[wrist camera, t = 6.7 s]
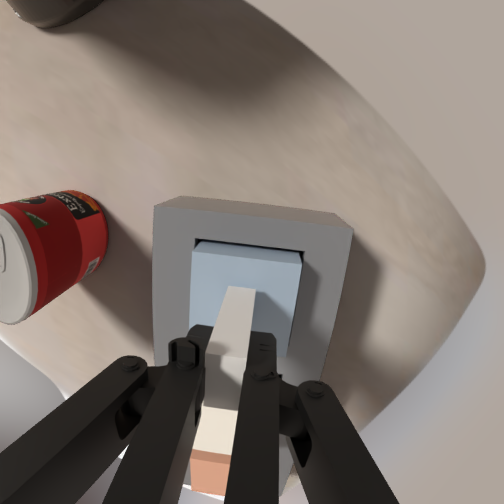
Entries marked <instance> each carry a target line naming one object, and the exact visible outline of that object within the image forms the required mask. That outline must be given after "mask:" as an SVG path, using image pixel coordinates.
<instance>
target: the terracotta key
mask: <svg viewBox="0 0 504 504" xmlns="http://www.w3.org/2000/svg"><path fill="white" fill-rule="evenodd" d="M230 460H231V455H227V454H220V453H213V452H207V451H201V450H196V449H192V453H191V456H190V470H191V489H192V491H197V492H202V493H208V494H215V495H221V496H225V493H226V486H227V480H228V473H229V467H230Z"/></svg>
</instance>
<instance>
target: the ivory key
mask: <svg viewBox="0 0 504 504" xmlns="http://www.w3.org/2000/svg"><path fill="white" fill-rule="evenodd" d="M237 414H238V411H233V410H226V409H219V408H212V407H206V406H203V403H202V408H201V418H200V422H199V426H198V429H197V433H196V437H195V440H194V444H193V448H192V449H196V450H201V451H207V452H213V453H220V454H227V455H231V454H232V447H233V441H234V434H235V427H236V421H237Z"/></svg>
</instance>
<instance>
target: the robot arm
mask: <svg viewBox="0 0 504 504" xmlns="http://www.w3.org/2000/svg"><path fill="white" fill-rule="evenodd" d="M6 1H7V2H8V3H9V4H10V6H11V7H12V8H13V10H14V11H15V13H16V14H17V16H18V17H19V18H20V19H22V20H23V21H25V22H27V23H30V24H32V25H34V26H37V27H41V28H51V27H56V26H60V25H63V24H65V23H68V22H70V21H72V20H74V19H76V18H78V17H80V16H82V15H83V14H85V13H87V12H88V11H90V10H91V9H93V8H94V7H96V6H97V5H98V4H99V3H101V2H102V1H103V0H6ZM255 293H256V289H251V288H243V287H235V286H228V288H227V291H226V294H225V297H224V300H223V302H222V305H221V308H220V311H219V314H218V317H217V320H216V323H215V326H207V325H200V324H196V325H195V326H193V327H192V328H190V330H189V332H188V334H187V336H186V337H181V338H176V339H173V340H171V341H170V342H169V343H168V357H169V362H168V364H167V365H164V366H150V367H147V363H146V361H145V360H144V359H142V358H141V357H137V356H123V357H121V358H119V359H117V360H116V361H114V362H113V363H112V364H111V365H109V366H108V367H107V368H106V369H104V370H103V371H102V372H101V373H99V374H98V375H97V376H96V377H94V378H93V379H92V380H91V381H89V382H88V383H87V384H86V385H84V386H83V387H82V388H81V389H79V390H78V391H77V392H76V393H74V394H73V395H72V396H71V397H69V398H68V399H67V400H66V401H65V402H63V403H62V404H61V405H60V406H58V407H57V408H56V409H55V410H53V411H52V412H51V413H50V414H48V415H47V416H46V417H45V418H43V419H42V420H41V421H40V422H38V423H37V424H36V425H35V426H33V427H32V428H31V429H30V430H28V431H27V432H26V433H25V434H23V435H22V436H21V437H20V438H19V439H17V440H16V441H15V442H13V443H12V444H11V445H10V446H9V447H7V448H6V449H5V450H4V451H2V452H1V453H0V504H75V503H76V502H77V501H78V500H79V499H80V498H81V497H82V496H83V495H84V493H85V492H86V491H87V490H88V489H89V488H90V487H91V486H92V485H93V484H94V483H95V481H96V480H97V479H98V478H99V477H100V476H101V475H102V474H103V473H104V471H105V470H106V469H107V468H108V467H109V466H110V465H111V464H112V463H113V461H114V460H115V459H116V458H117V457H118V456H119V455H120V454H121V452H122V451H123V450H124V449H125V448H126V447H127V446H128V445H129V446H128V448H127V450H126V452H125V454H124V456H123V459H122V461H121V463H120V465H119V467H118V470H117V472H116V474H115V476H114V479H113V481H112V483H111V485H110V487H109V489H108V492H107V494H106V496H105V498H104V501H103V503H102V504H178V500H179V497H180V493H181V489H182V485H183V482H184V478H185V474H186V470H187V467H188V463H189V459H190V455H191V452H192V448H193V444H194V440H195V437H196V433H197V429H198V426H199V422H200V418H201V408H202V403H203V406H206V407H212V408H219V409H226V410H233V411H238V414H237V421H236V427H235V434H234V441H233V447H232V454H231V460H230V467H229V473H228V480H227V486H226V493H225V499H224V504H279V434H282V435H285V439H286V442H287V445H288V448H289V450H290V453H291V456H292V459H293V462H294V464H295V467H296V470H297V473H298V475H299V478H300V481H301V483H302V486H303V489H304V491H305V494H306V497H307V500H308V502H309V504H399V502H398V501H397V499H396V497H395V496H394V494H393V492H392V490H391V489H390V487H389V485H388V484H387V482H386V480H385V479H384V477H383V475H382V473H381V472H380V470H379V468H378V467H377V465H376V464H375V462H374V460H373V458H372V456H371V455H370V453H369V452H368V450H367V448H366V446H365V445H364V443H363V441H362V439H361V438H360V436H359V434H358V433H357V431H356V429H355V428H354V426H353V424H352V422H351V421H350V419H349V417H348V416H347V414H346V412H345V411H344V409H343V407H342V405H341V404H340V402H339V400H338V399H337V397H336V395H335V394H334V392H333V390H332V389H331V388H330V387H329V386H328V385H327V384H325V383H323V382H320V381H316V380H309V381H304V382H302V383H301V384H299V386H294V385H291V384H289V383H286V382H285V381H283V380H282V379H281V378H280V377H279V375H278V373H277V339H276V338H275V337H274V335H273V334H272V333H267V332H258V331H251V326H252V318H253V309H254V301H255Z"/></svg>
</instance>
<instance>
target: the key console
mask: <svg viewBox="0 0 504 504" xmlns="http://www.w3.org/2000/svg"><path fill="white" fill-rule="evenodd" d="M352 235H353V228H352V227H351V226H349V225H348V224H347V223H346V222H345V221H343V220H342V219H341V218H340V217H338V216H337V215H336V214H334V213H327V212H320V211H313V210H305V209H297V208H290V207H282V206H273V205H265V204H256V203H248V202H238V201H229V200H219V199H209V198H199V197H188V196H179V197H176V198H174V199H171V200H168V201H166V202H163V203H160V204H158V205H155V206H154V218H153V248H152V310H153V340H154V360H155V366H164V365H167V364H168V362H169V357H168V343H169V342H170V341H171V340H173V339H176V338H181V337H186V336H187V334H188V332H189V313H190V285H191V264H192V251H193V250H194V249H195V248H196V247H197V245H198V244H199V243H200V242H201V241H202V240H203V239H208V240H217V241H225V242H234V243H242V244H250V245H259V246H267V247H276V248H284V249H292V250H298V252H299V256H300V259H301V263H302V268H301V275H300V281H299V287H298V293H297V299H296V304H295V310H294V316H293V321H292V327H291V332H290V338H289V343H288V348H287V353H286V357H278V356H277V373H278V375H279V377H280V378H281V379H282V380H283V381H285V382H286V383H289V384H291V385H294V386H299V384H301V383H302V382H304V381H309V380H316V381H320V377H321V374H322V370H323V366H324V363H325V359H326V355H327V351H328V347H329V343H330V339H331V335H332V331H333V327H334V323H335V319H336V314H337V310H338V306H339V301H340V297H341V292H342V287H343V283H344V278H345V273H346V268H347V263H348V257H349V252H350V247H351V241H352ZM191 453H192V452H191ZM190 456H191V455H190ZM293 463H294V462H293V459H292V456H291V453H290V450H289V448H288V445H287V442H286V439H285V435H282V434H279V496H281V495H282V492H283V490H284V487H285V485H286V482H287V479H288V477H289V474H290V471H291V468H292V466H293ZM183 484H186V485H191V470H190V459H189V463H188V467H187V470H186V474H185V478H184V482H183Z"/></svg>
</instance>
